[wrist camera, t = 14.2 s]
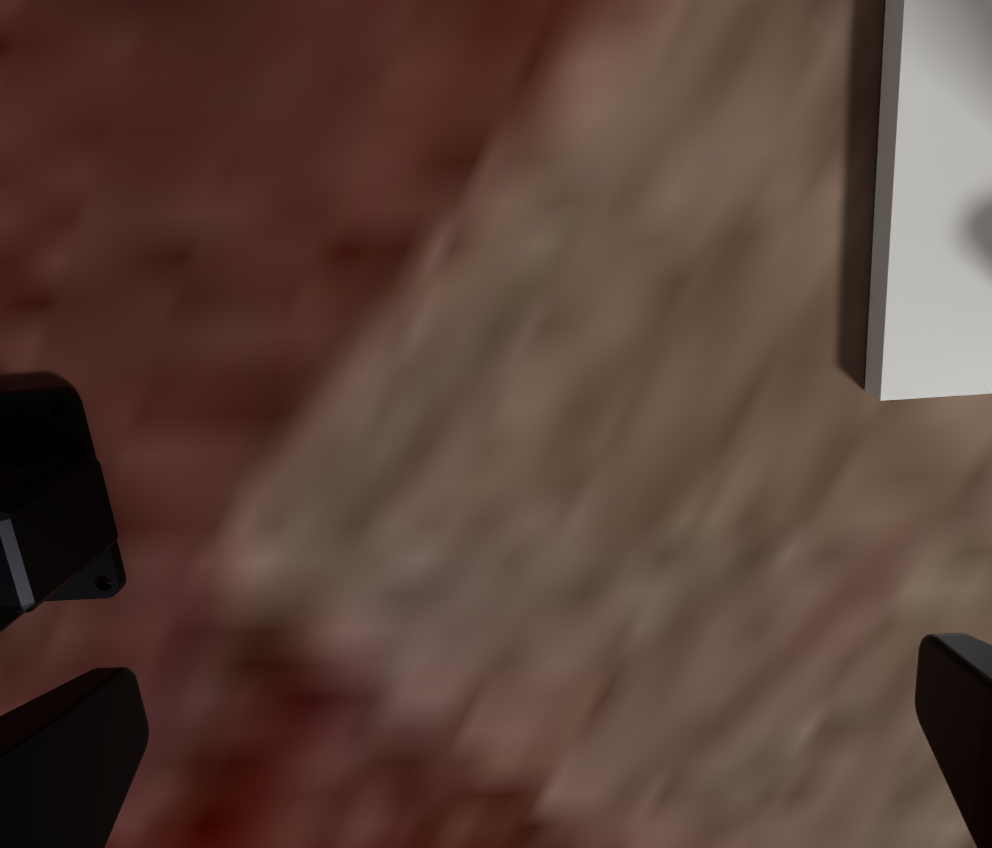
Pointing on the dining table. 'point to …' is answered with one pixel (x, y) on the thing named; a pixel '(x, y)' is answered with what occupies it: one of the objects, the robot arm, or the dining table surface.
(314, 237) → the dining table surface
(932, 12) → the plate
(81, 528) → the robot arm
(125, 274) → the dining table surface
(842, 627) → the dining table surface
